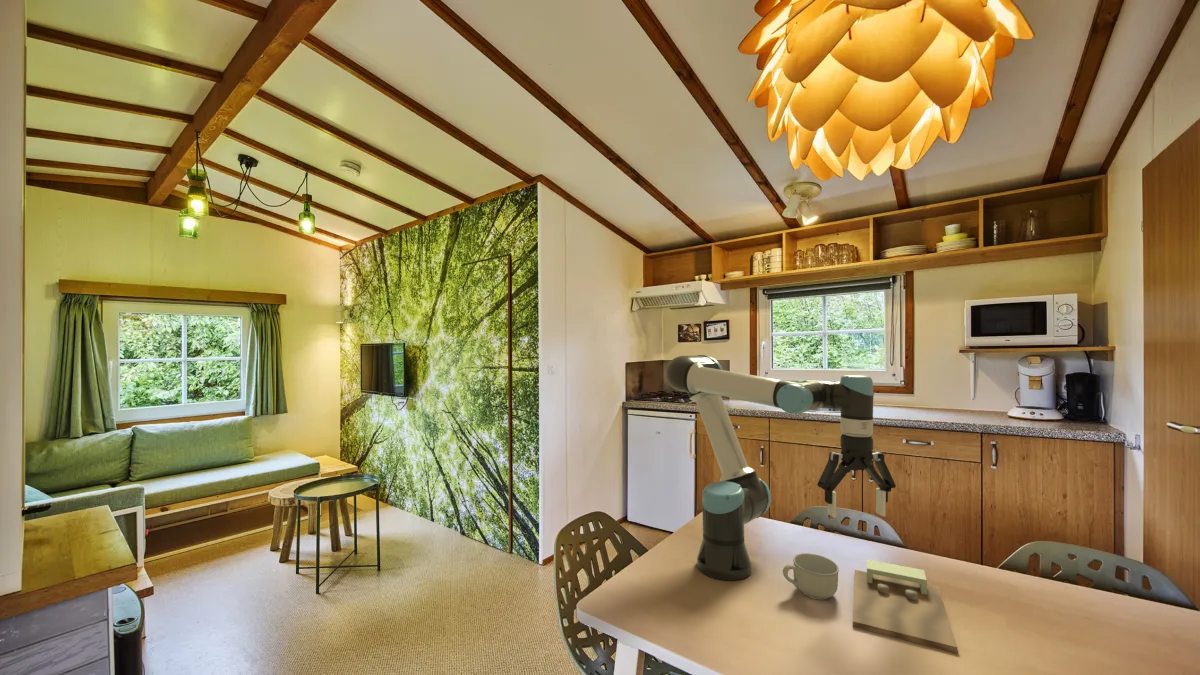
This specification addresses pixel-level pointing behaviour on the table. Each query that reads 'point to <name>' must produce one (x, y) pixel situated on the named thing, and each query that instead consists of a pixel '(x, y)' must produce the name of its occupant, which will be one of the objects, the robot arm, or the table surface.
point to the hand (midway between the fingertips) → (856, 515)
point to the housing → (897, 573)
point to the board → (902, 611)
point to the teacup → (813, 575)
